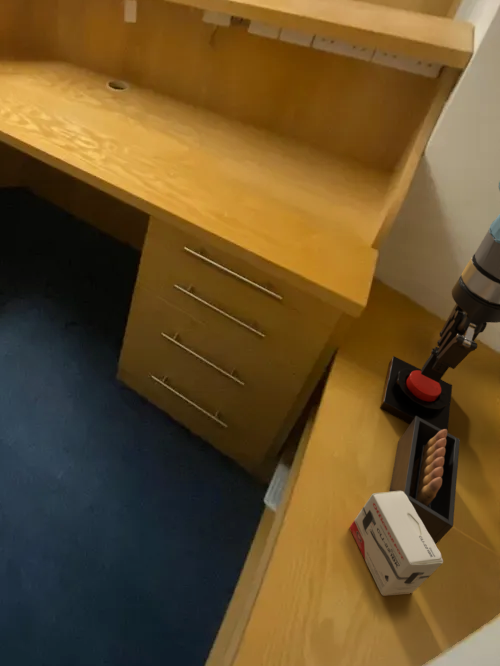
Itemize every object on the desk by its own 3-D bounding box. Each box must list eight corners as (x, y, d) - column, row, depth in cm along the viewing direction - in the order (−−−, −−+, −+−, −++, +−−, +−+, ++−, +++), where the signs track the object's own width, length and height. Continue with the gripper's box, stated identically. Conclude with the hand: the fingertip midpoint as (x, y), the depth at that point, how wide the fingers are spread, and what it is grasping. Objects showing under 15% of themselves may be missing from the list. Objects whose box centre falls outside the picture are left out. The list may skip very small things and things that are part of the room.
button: (407, 371, 99) (411, 365, 98) (438, 386, 96) (442, 380, 95) (404, 391, 95) (408, 384, 94) (435, 407, 93) (440, 401, 92)
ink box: (347, 526, 80) (372, 491, 74) (376, 523, 81) (404, 488, 74) (381, 597, 73) (411, 565, 67) (413, 594, 73) (447, 561, 67)
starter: (389, 362, 104) (396, 350, 102) (447, 391, 99) (456, 379, 97) (379, 408, 96) (387, 396, 94) (442, 442, 91) (451, 430, 89)
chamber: (439, 464, 88) (459, 439, 84) (429, 550, 78) (453, 526, 73) (398, 441, 91) (416, 415, 87) (384, 520, 81) (403, 496, 76)
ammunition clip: (412, 458, 88) (440, 421, 82) (424, 465, 87) (453, 428, 81) (403, 515, 81) (433, 479, 75) (416, 524, 80) (448, 488, 74)
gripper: (518, 328, 75) (451, 416, 87) (517, 275, 84) (456, 361, 96) (457, 302, 79) (401, 389, 91) (462, 254, 88) (410, 339, 100)
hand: (430, 375), depth 94 cm, fingers closed
